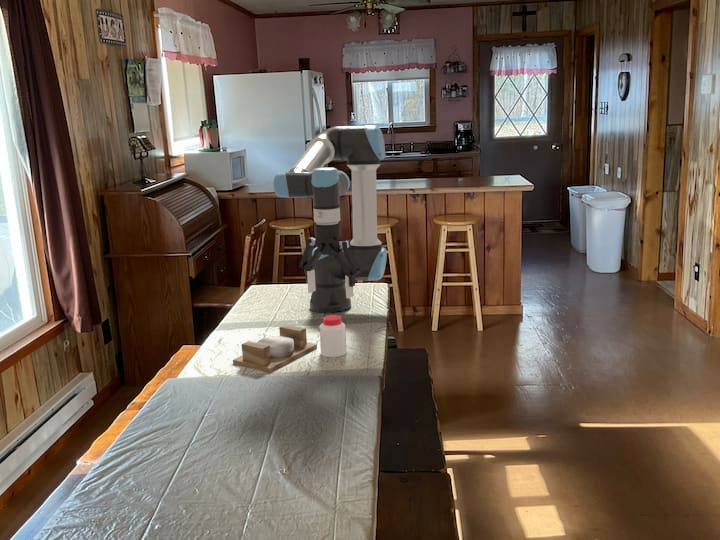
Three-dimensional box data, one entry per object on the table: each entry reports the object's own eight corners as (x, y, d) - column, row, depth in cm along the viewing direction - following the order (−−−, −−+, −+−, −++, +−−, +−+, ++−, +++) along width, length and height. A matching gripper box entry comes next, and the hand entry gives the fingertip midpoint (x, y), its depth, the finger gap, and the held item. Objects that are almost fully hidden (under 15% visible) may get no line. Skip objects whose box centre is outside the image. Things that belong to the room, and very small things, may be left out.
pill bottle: (348, 348, 207) (346, 313, 204) (345, 357, 199) (343, 321, 197) (322, 348, 207) (321, 313, 205) (318, 357, 200) (317, 321, 197)
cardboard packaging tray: (281, 340, 215) (280, 322, 214) (316, 347, 208) (315, 328, 206) (233, 363, 198) (231, 343, 196) (270, 372, 190) (268, 351, 189)
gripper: (284, 222, 198) (289, 292, 203) (356, 227, 184) (359, 302, 189) (300, 218, 204) (304, 286, 209) (371, 223, 190) (373, 296, 195)
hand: (330, 294), depth 199 cm, fingers open, 13 cm apart
